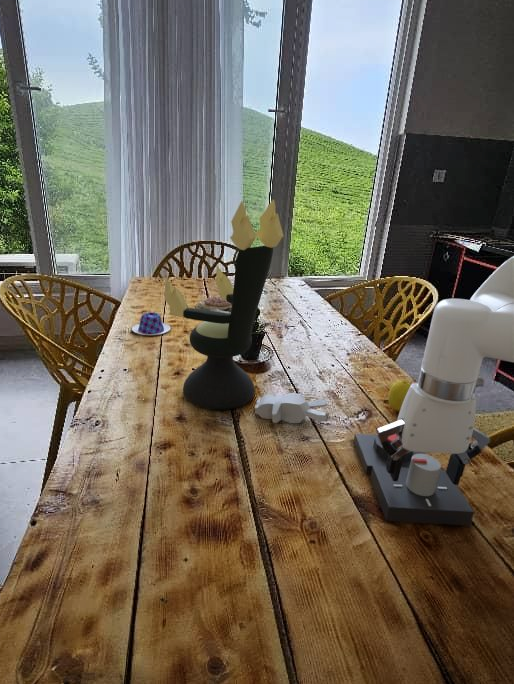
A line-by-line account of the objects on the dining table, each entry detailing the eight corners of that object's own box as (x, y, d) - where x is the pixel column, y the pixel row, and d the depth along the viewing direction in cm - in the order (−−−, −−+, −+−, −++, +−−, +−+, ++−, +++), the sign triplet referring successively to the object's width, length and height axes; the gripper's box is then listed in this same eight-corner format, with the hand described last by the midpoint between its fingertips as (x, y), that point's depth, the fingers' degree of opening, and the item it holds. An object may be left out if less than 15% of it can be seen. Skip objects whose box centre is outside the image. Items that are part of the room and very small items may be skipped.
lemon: (387, 416, 98) (393, 384, 95) (383, 404, 103) (389, 373, 100) (413, 419, 98) (420, 387, 94) (408, 407, 103) (415, 376, 100)
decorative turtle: (186, 304, 167) (186, 291, 166) (226, 300, 174) (227, 288, 172) (204, 320, 152) (204, 306, 150) (247, 315, 159) (248, 301, 157)
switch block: (413, 445, 88) (417, 428, 87) (432, 479, 79) (437, 460, 78) (353, 442, 89) (356, 425, 87) (365, 475, 79) (368, 457, 78)
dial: (428, 478, 74) (435, 452, 73) (438, 497, 70) (446, 470, 68) (402, 477, 75) (408, 451, 73) (411, 495, 70) (417, 468, 68)
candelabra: (214, 369, 117) (219, 189, 100) (288, 396, 105) (308, 197, 88) (164, 396, 102) (160, 192, 85) (243, 431, 91) (257, 202, 74)
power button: (401, 438, 84) (403, 430, 84) (408, 451, 81) (410, 443, 80) (380, 437, 84) (381, 429, 84) (386, 449, 81) (388, 441, 80)
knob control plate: (443, 483, 78) (447, 468, 77) (469, 526, 69) (474, 511, 68) (369, 479, 78) (372, 464, 77) (385, 522, 69) (389, 506, 68)
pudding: (177, 333, 140) (176, 317, 138) (141, 340, 133) (140, 323, 132) (160, 321, 149) (160, 306, 147) (126, 327, 143) (125, 312, 141)
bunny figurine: (259, 386, 100) (327, 389, 97) (260, 406, 102) (327, 409, 99) (251, 407, 92) (325, 410, 88) (253, 428, 94) (325, 432, 90)
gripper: (492, 375, 69) (465, 465, 75) (379, 368, 69) (362, 459, 75) (519, 399, 62) (487, 496, 68) (394, 392, 62) (374, 490, 68)
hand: (422, 477), depth 72 cm, fingers open, 9 cm apart
